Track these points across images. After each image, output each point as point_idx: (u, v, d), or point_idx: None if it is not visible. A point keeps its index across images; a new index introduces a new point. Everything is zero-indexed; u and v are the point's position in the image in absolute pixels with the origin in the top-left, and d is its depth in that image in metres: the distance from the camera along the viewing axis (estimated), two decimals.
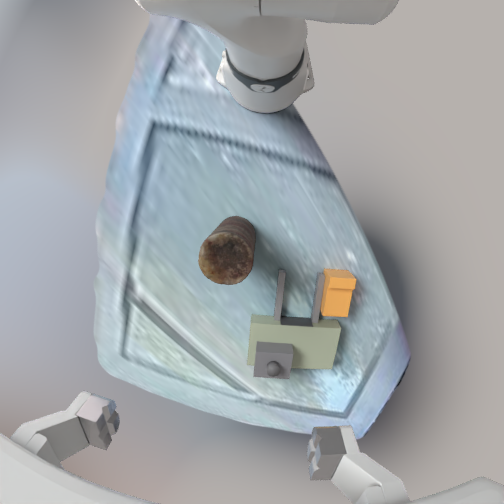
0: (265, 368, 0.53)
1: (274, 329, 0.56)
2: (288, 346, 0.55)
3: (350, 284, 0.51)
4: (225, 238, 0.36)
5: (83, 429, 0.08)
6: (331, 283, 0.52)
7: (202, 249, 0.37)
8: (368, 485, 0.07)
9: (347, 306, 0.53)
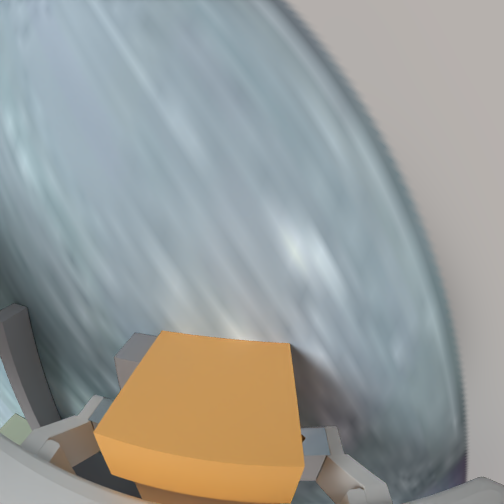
0: None
1: None
2: None
3: (256, 488, 0.05)
4: None
5: None
6: (116, 462, 0.05)
7: None
8: (351, 487, 0.07)
9: None
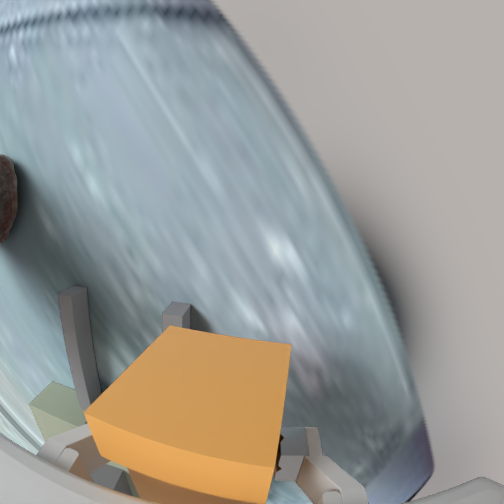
0: None
1: None
2: (109, 476, 0.15)
3: (230, 483, 0.05)
4: None
5: None
6: (104, 444, 0.06)
7: None
8: (329, 490, 0.07)
9: None
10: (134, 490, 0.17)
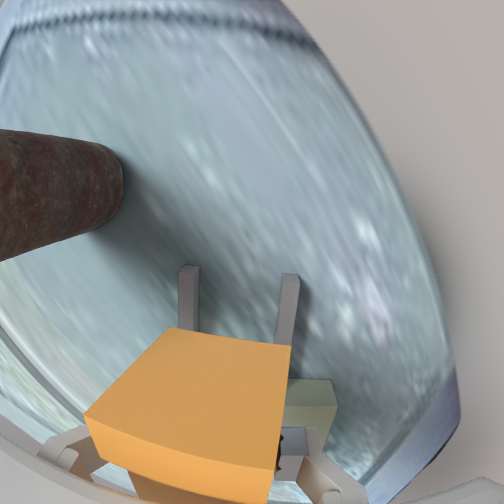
0: None
1: None
2: None
3: (230, 486, 0.05)
4: None
5: None
6: (103, 446, 0.06)
7: None
8: (329, 490, 0.07)
9: None
10: None
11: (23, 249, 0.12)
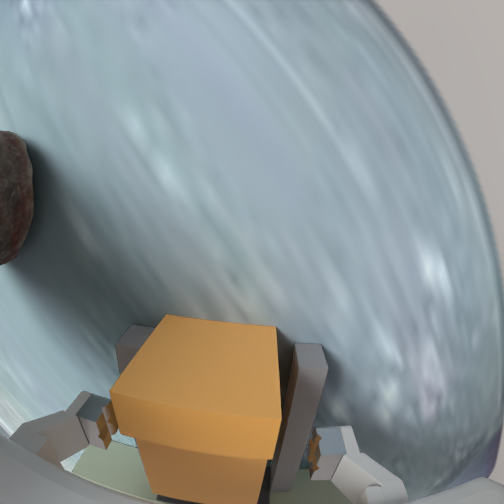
0: None
1: None
2: None
3: (243, 440, 0.07)
4: None
5: (83, 429, 0.08)
6: (126, 420, 0.07)
7: None
8: (368, 485, 0.07)
9: (250, 489, 0.09)
10: None
11: None
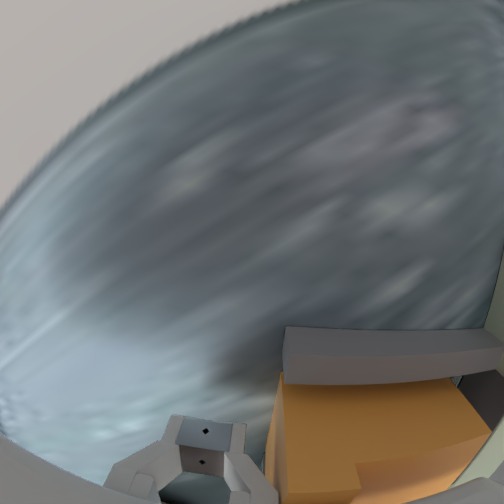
0: None
1: None
2: None
3: None
4: None
5: (181, 457, 0.08)
6: None
7: None
8: (244, 489, 0.07)
9: (448, 452, 0.06)
10: None
11: None
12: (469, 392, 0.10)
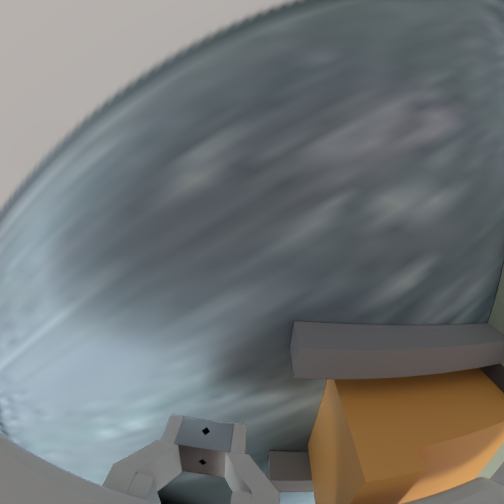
0: None
1: None
2: None
3: (387, 492, 0.06)
4: None
5: (180, 456, 0.08)
6: None
7: None
8: (245, 490, 0.07)
9: (487, 433, 0.06)
10: None
11: None
12: None
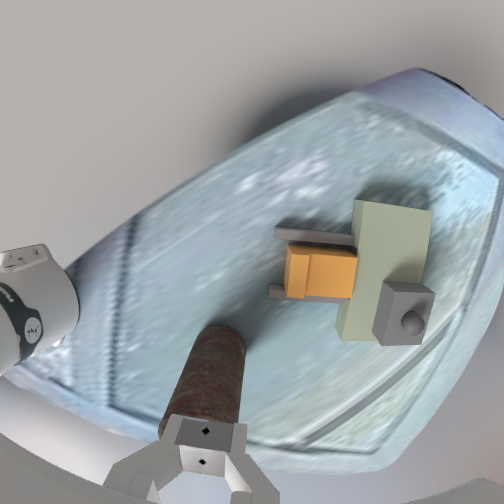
0: None
1: (355, 308, 0.35)
2: (384, 290, 0.33)
3: (300, 263, 0.32)
4: None
5: (180, 456, 0.08)
6: (297, 294, 0.33)
7: None
8: (245, 490, 0.07)
9: (340, 260, 0.33)
10: (405, 279, 0.34)
11: (236, 377, 0.30)
12: None
